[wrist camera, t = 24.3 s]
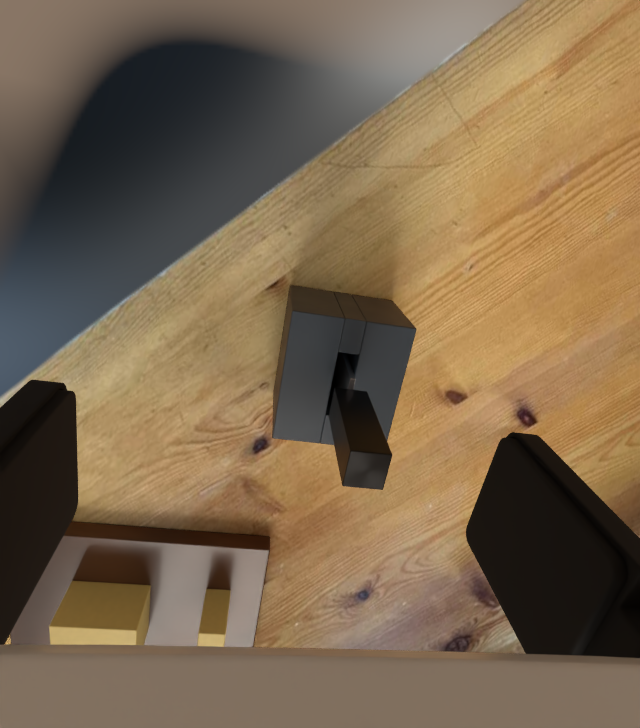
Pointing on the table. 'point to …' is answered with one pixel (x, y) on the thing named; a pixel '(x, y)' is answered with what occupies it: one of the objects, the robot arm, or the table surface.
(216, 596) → the butter slice
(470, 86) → the table surface
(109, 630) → the butter
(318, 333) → the knife block
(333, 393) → the knife
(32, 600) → the board
